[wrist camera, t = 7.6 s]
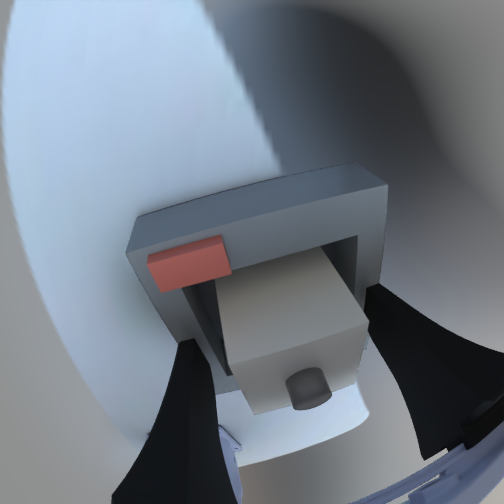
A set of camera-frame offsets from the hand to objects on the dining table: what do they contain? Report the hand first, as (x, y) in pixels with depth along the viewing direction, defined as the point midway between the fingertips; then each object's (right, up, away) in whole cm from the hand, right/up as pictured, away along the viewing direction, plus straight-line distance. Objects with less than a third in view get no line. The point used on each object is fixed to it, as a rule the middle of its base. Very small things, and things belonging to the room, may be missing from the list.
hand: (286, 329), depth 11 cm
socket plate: (-1, +2, +2) cm, 3 cm away
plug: (0, +1, +2) cm, 3 cm away
